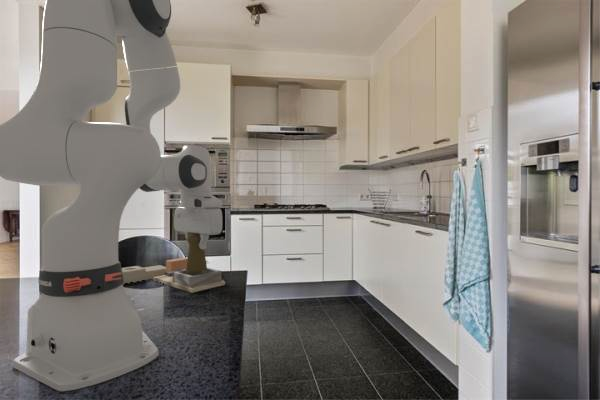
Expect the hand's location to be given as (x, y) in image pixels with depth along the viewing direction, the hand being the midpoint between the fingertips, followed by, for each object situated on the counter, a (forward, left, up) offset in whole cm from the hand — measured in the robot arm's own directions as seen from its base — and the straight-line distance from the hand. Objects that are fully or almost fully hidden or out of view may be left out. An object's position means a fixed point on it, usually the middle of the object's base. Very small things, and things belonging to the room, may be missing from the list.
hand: (196, 248), depth 100 cm
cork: (0, 0, -7) cm, 7 cm away
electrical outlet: (+22, +8, -12) cm, 26 cm away
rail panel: (+5, 0, -11) cm, 12 cm away
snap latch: (+11, 0, -8) cm, 13 cm away
